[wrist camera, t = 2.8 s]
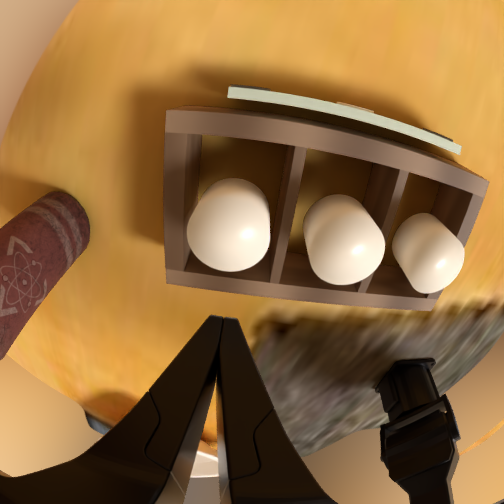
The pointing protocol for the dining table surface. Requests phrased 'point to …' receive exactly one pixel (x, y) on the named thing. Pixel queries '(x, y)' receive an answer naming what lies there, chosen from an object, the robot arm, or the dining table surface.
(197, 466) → the bowl
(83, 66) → the dining table surface
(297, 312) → the dining table surface
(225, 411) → the robot arm
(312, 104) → the card
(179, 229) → the brown compartment tray
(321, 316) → the dining table surface
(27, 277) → the can
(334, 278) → the button mid
